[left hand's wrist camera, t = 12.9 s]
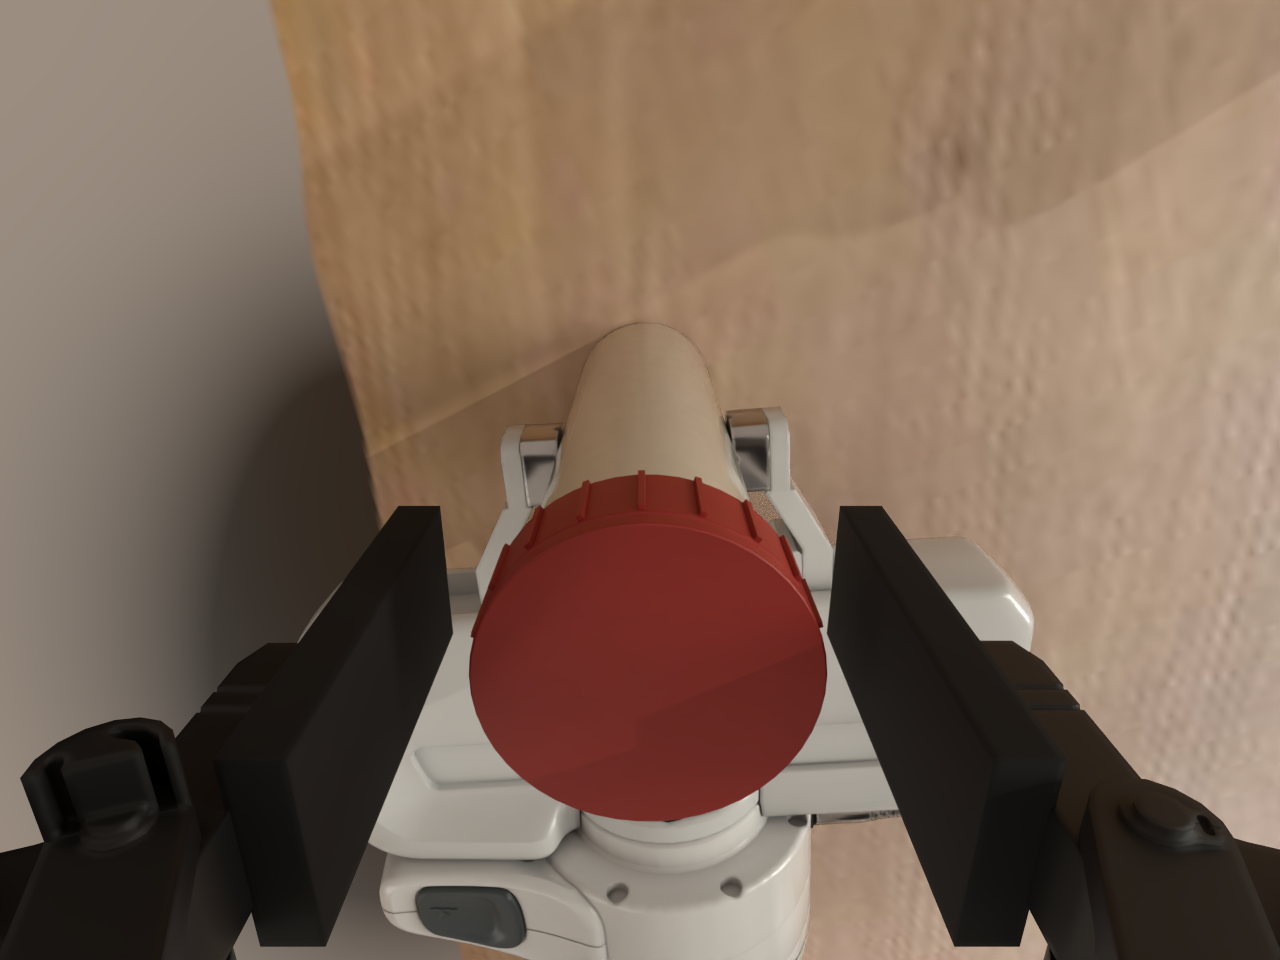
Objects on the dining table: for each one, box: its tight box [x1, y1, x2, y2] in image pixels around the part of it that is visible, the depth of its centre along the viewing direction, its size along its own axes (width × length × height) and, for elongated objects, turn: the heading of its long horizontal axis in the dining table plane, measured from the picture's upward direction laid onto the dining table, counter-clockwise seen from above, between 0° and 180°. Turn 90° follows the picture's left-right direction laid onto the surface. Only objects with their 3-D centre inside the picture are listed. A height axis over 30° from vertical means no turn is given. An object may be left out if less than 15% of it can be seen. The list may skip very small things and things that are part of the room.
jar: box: [541, 323, 751, 509], centre depth 19 cm, size 4×4×16 cm
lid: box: [469, 470, 827, 821], centre depth 12 cm, size 5×5×2 cm
